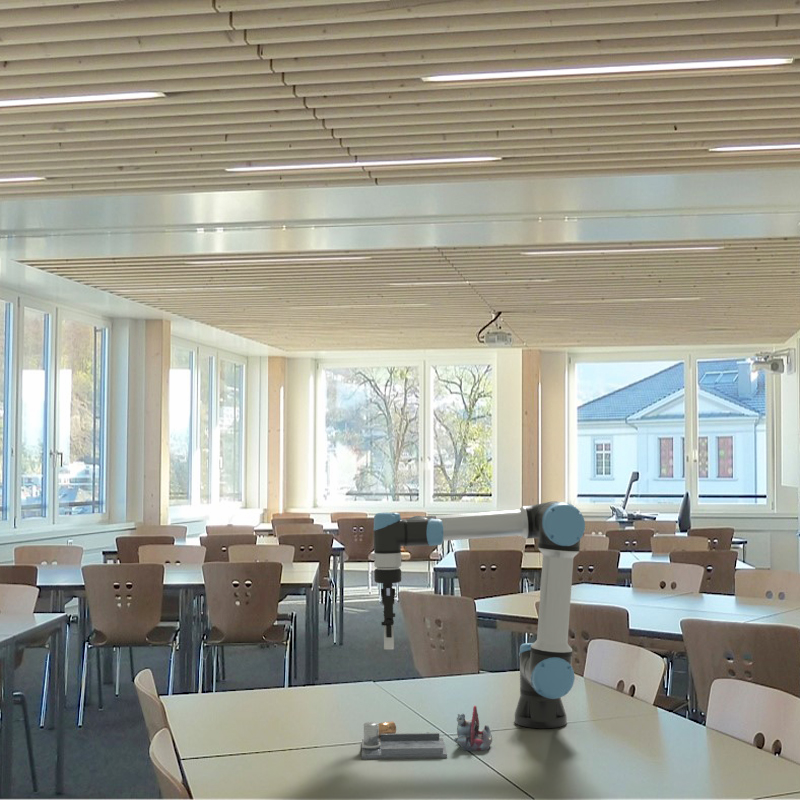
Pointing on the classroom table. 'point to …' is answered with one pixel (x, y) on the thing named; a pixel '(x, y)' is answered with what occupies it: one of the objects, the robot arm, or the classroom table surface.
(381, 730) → the golden brown rounded block
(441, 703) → the classroom table surface
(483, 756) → the classroom table surface
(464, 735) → the brake caliper
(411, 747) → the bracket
